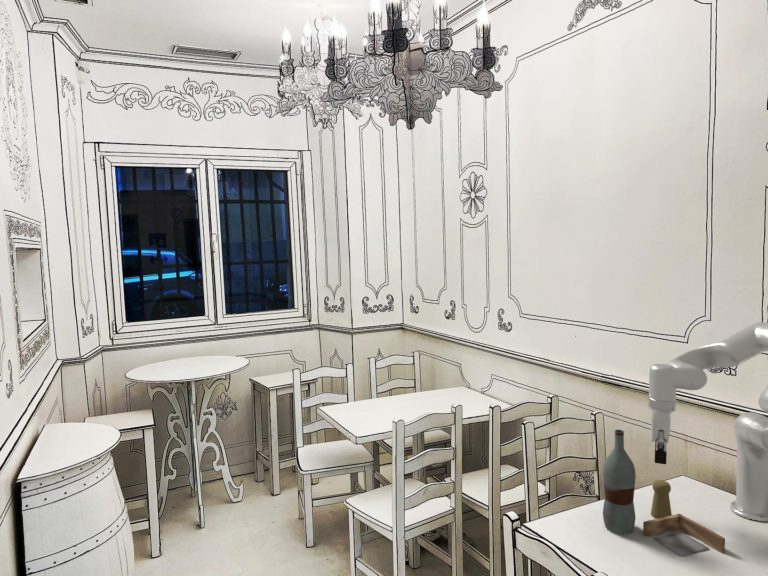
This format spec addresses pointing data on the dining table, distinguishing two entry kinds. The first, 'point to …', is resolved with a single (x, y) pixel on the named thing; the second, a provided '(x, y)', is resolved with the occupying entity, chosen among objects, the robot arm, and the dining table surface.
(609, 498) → the bottle
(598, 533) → the dining table surface
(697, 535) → the corner arena
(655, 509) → the cork
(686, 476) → the dining table surface
